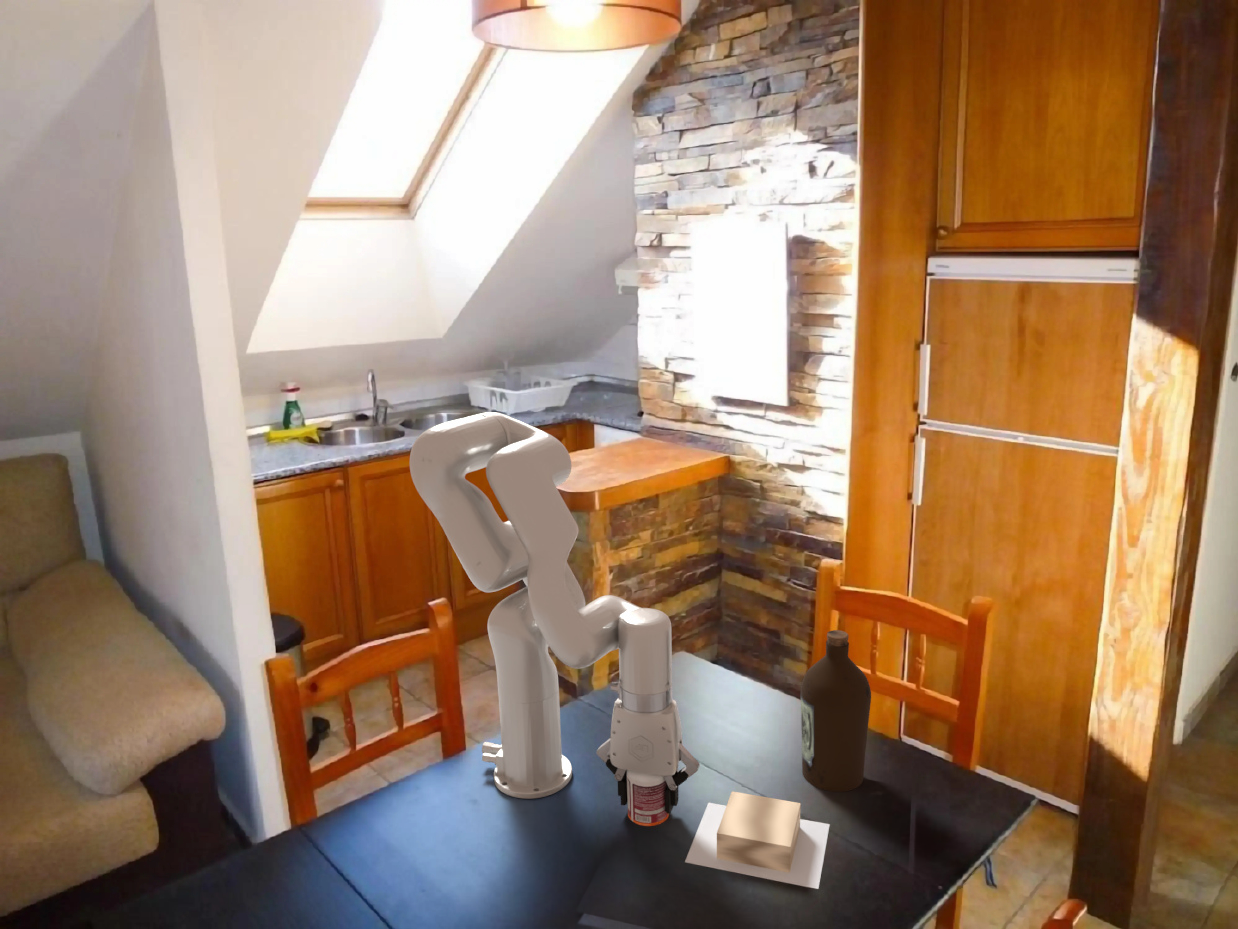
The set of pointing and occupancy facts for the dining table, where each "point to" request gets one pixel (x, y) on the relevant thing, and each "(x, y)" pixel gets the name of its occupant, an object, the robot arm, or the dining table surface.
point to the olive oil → (834, 719)
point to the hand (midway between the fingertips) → (648, 803)
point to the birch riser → (759, 831)
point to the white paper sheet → (801, 873)
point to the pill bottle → (646, 798)
